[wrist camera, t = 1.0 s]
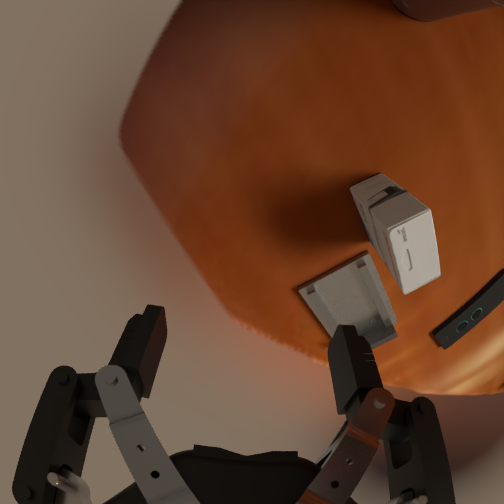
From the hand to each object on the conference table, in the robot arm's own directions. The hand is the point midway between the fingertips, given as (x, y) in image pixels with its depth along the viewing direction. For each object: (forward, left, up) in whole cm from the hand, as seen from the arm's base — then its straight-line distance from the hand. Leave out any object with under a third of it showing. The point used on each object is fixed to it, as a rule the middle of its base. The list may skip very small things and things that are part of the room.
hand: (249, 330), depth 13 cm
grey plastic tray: (-2, +24, -23) cm, 33 cm away
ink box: (-11, +11, -23) cm, 28 cm away
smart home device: (-24, +43, -23) cm, 54 cm away
